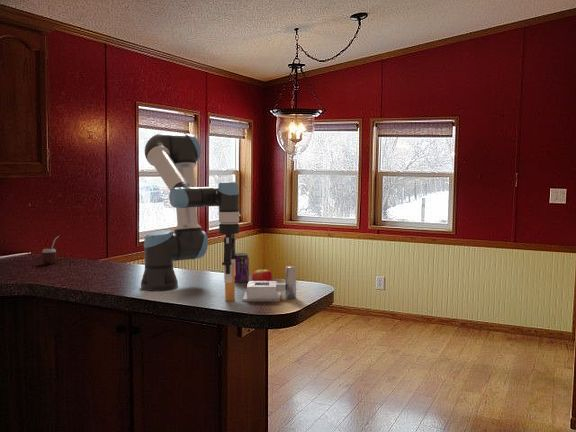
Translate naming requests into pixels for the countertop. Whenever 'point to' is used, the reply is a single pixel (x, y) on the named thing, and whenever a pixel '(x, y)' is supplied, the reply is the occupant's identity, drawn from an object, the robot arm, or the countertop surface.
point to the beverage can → (242, 267)
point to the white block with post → (272, 288)
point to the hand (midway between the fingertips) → (230, 279)
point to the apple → (262, 275)
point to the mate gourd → (49, 255)
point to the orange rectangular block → (230, 287)
